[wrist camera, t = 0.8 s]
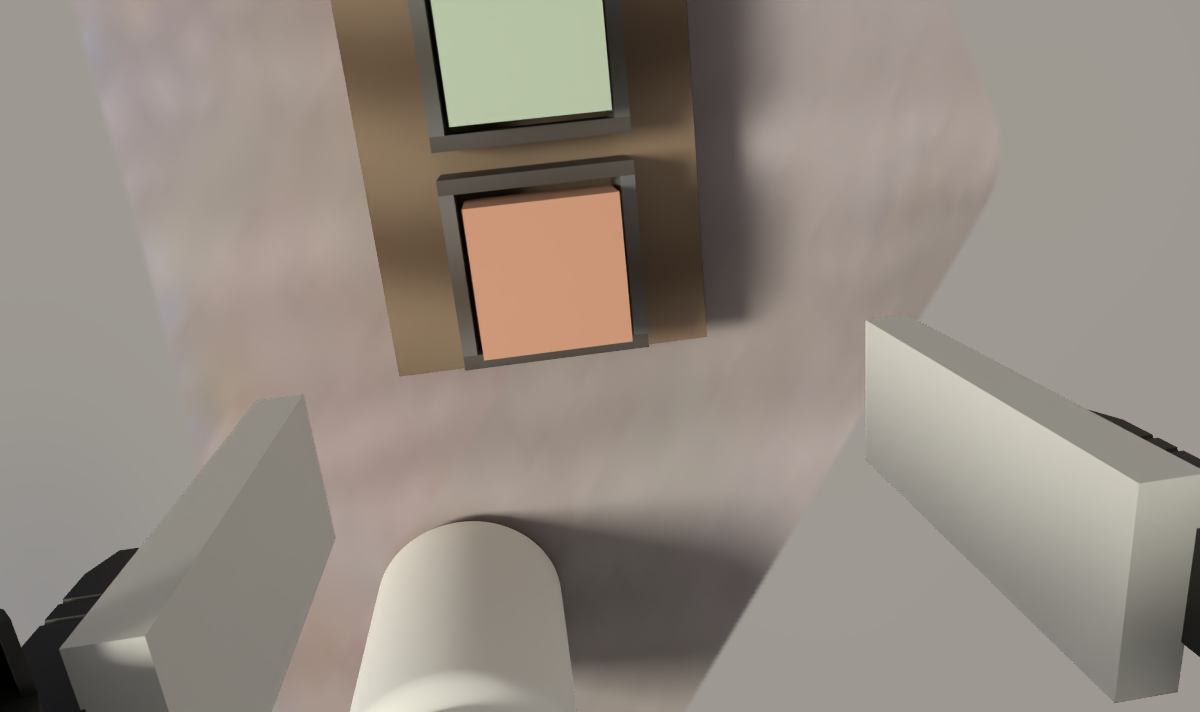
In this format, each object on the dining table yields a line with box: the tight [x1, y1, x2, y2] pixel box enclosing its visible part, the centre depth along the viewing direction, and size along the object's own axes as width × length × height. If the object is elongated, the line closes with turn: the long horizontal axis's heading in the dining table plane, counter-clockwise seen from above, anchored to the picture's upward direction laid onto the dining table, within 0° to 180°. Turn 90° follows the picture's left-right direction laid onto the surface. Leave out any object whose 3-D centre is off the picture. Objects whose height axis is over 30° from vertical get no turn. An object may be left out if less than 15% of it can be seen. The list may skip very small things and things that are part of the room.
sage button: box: [431, 0, 612, 127], centre depth 26 cm, size 5×5×2 cm
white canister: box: [350, 521, 577, 712], centre depth 32 cm, size 8×8×12 cm
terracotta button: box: [462, 184, 633, 361], centre depth 28 cm, size 5×5×2 cm
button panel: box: [331, 0, 707, 376], centre depth 28 cm, size 23×12×5 cm, turn 6°
